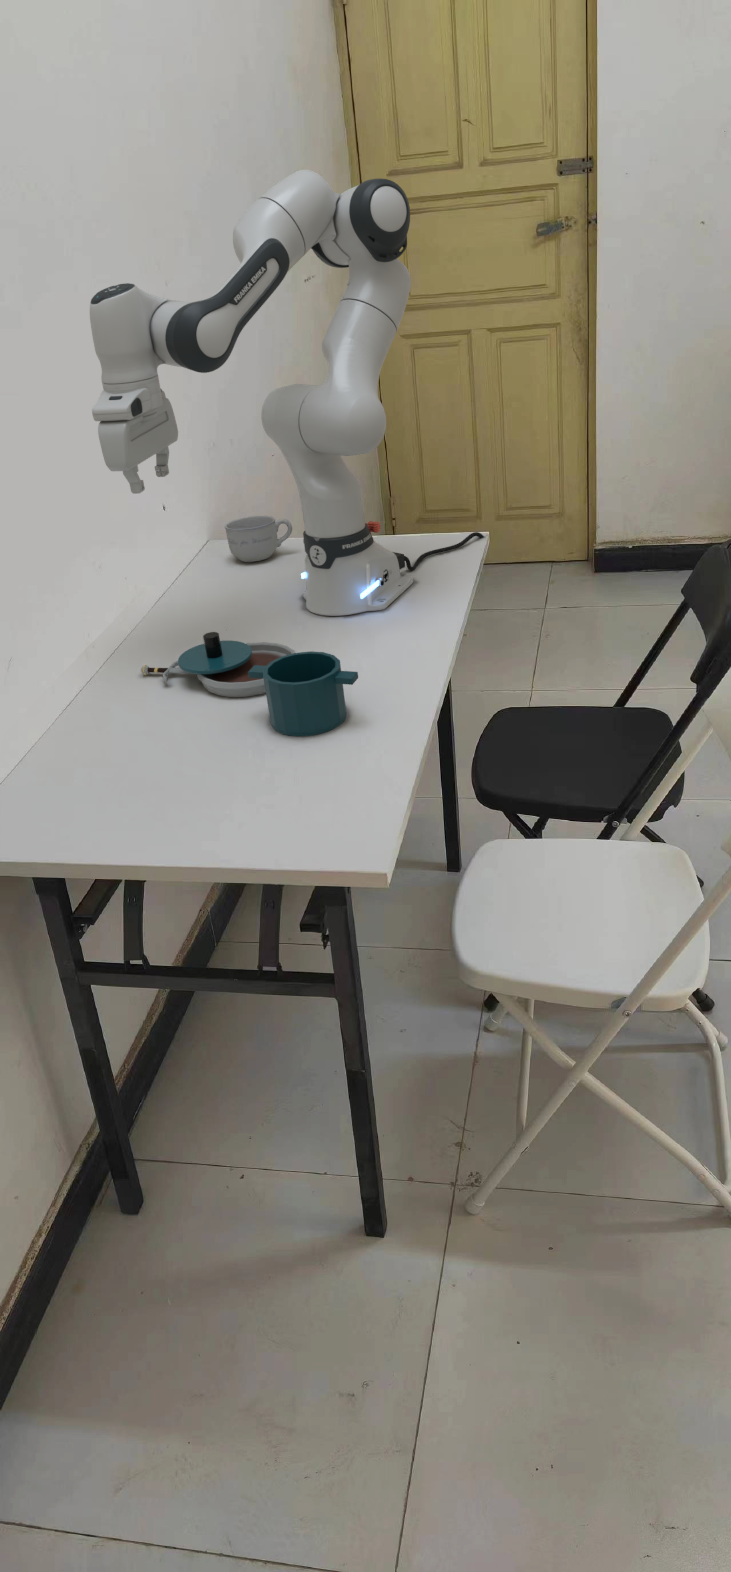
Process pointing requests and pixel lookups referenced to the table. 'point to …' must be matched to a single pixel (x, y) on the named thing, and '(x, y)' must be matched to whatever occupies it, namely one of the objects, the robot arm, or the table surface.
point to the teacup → (255, 537)
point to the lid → (214, 655)
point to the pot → (305, 692)
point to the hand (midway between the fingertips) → (151, 483)
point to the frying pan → (234, 672)
